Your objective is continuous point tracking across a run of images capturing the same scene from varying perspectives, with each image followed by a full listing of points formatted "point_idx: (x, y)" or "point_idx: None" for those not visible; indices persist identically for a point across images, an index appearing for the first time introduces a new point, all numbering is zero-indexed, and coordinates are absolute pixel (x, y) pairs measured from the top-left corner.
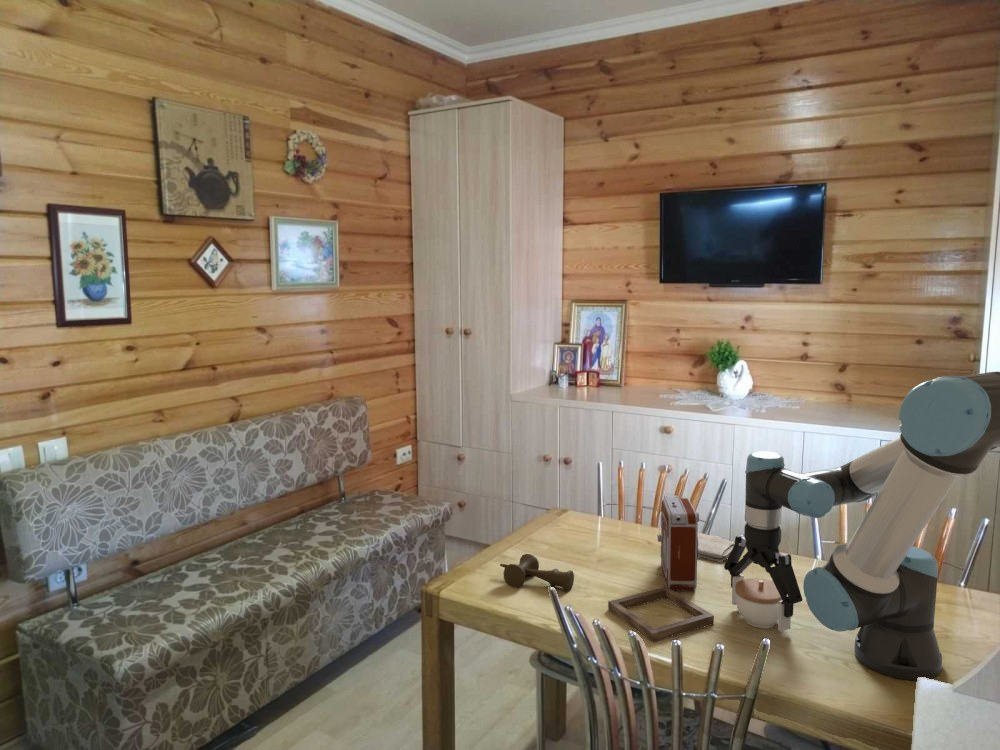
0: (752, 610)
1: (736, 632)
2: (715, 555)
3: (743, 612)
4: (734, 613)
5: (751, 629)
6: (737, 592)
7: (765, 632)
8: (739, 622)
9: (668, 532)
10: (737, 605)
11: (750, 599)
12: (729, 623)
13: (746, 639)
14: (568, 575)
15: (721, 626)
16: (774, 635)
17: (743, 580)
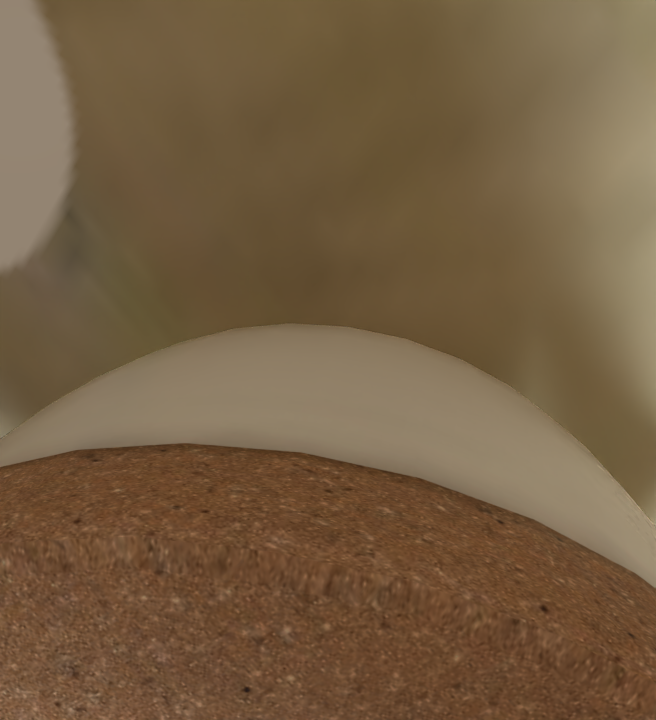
0: (133, 366)
1: (329, 62)
2: None
3: (357, 331)
4: (638, 453)
5: (271, 287)
6: (593, 578)
7: (143, 349)
8: (467, 319)
9: None
10: (535, 409)
11: (33, 476)
12: (542, 197)
13: (131, 14)
14: None
15: (576, 22)
16: (55, 366)
17: None
